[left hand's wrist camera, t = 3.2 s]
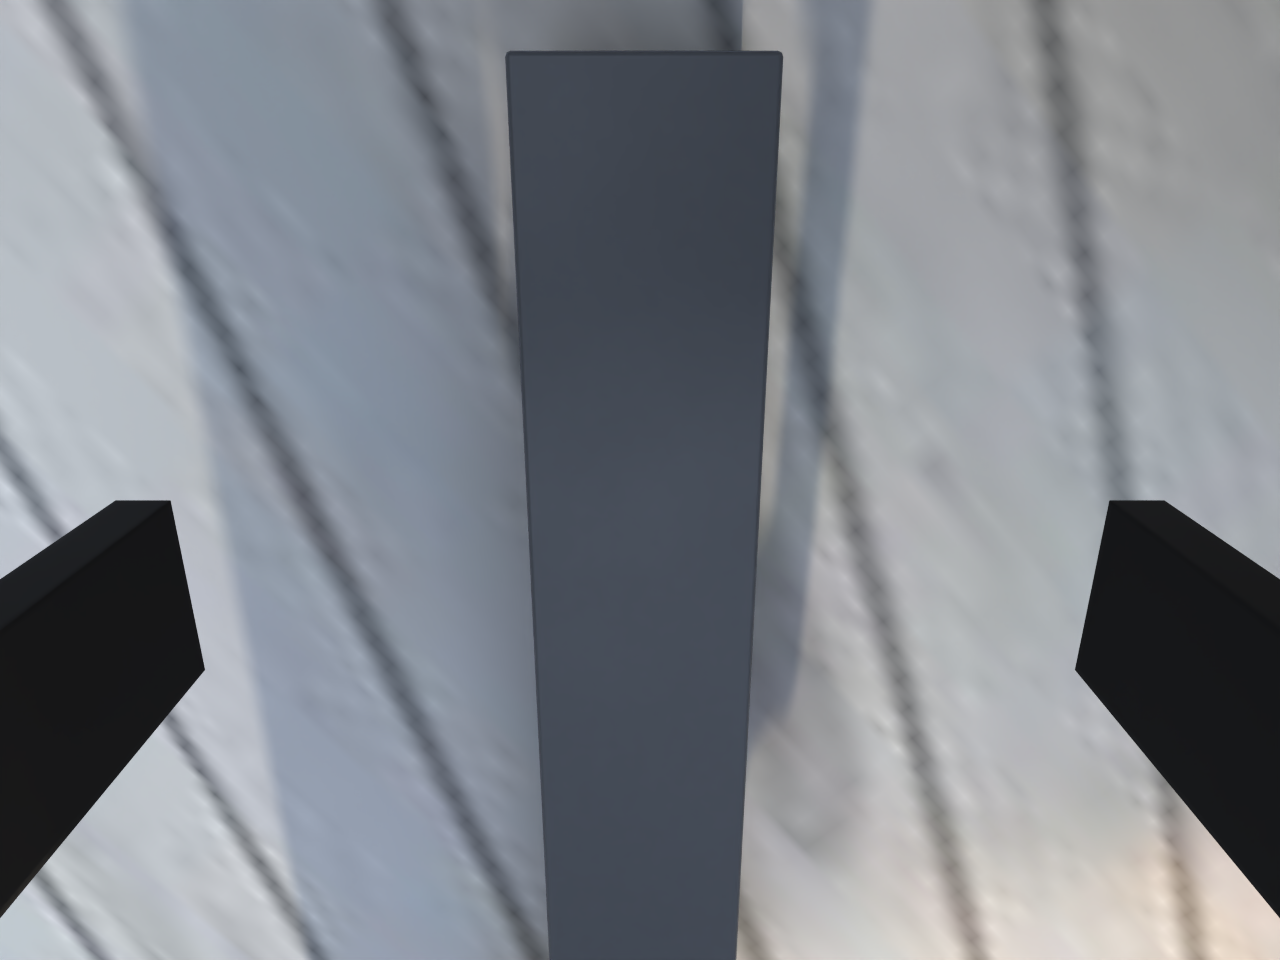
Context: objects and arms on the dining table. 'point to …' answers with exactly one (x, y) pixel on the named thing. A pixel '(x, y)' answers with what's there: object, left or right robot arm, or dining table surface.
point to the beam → (643, 475)
